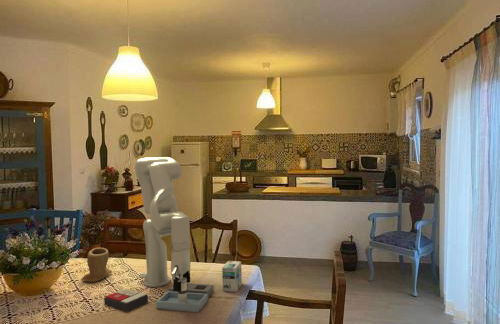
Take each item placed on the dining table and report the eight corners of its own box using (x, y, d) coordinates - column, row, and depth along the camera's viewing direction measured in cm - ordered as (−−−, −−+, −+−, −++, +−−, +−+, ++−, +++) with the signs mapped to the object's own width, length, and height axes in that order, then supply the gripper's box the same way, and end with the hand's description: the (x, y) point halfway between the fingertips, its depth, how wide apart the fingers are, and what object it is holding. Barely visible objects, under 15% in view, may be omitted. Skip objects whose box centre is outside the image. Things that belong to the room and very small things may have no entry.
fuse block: (168, 295, 172) (168, 288, 171) (175, 288, 179) (175, 282, 179) (207, 298, 168) (207, 291, 167) (213, 291, 175) (213, 284, 175)
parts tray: (156, 308, 158) (156, 301, 158) (168, 298, 169) (167, 291, 169) (198, 312, 154) (198, 304, 154) (207, 300, 165) (207, 293, 165)
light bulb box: (236, 292, 174) (236, 268, 173) (222, 291, 175) (221, 267, 174) (242, 283, 184) (241, 261, 184) (228, 282, 185) (227, 260, 185)
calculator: (125, 287, 173) (148, 292, 165) (125, 297, 173) (148, 302, 165) (103, 296, 164) (126, 301, 156) (104, 306, 164) (127, 312, 156)
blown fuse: (176, 304, 160) (175, 280, 160) (180, 300, 164) (179, 277, 163) (185, 305, 159) (184, 280, 159) (188, 301, 163) (188, 277, 162)
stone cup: (99, 284, 187) (98, 253, 186) (78, 282, 190) (77, 252, 189) (118, 274, 201) (117, 245, 201) (99, 272, 205) (97, 243, 204)
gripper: (180, 239, 169) (181, 278, 170) (163, 251, 153) (164, 294, 154) (197, 240, 168) (198, 279, 169) (181, 251, 151) (182, 295, 152)
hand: (182, 286), depth 161 cm, fingers open, 9 cm apart
